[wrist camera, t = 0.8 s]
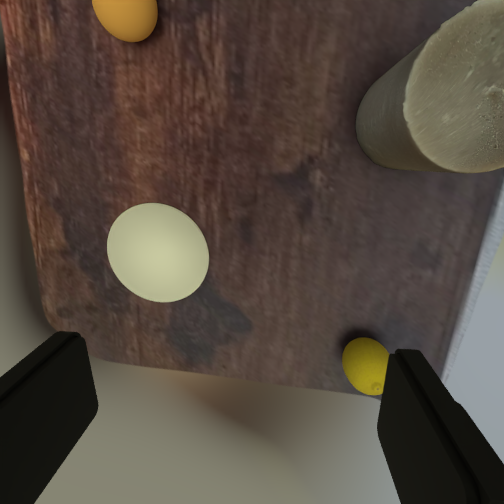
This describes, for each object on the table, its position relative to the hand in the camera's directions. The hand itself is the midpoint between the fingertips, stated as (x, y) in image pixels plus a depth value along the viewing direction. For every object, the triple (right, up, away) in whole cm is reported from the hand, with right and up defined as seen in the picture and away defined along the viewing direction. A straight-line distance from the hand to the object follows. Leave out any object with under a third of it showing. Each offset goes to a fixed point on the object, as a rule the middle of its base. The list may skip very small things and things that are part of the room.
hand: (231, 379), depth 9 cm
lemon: (+15, -8, +30) cm, 35 cm away
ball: (-11, +27, +18) cm, 34 cm away
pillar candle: (+16, +18, +22) cm, 32 cm away
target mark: (-11, +4, +29) cm, 31 cm away
